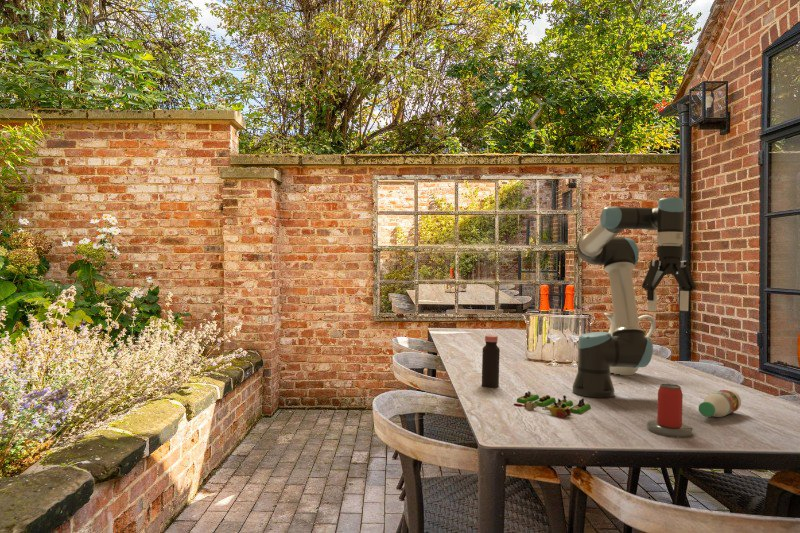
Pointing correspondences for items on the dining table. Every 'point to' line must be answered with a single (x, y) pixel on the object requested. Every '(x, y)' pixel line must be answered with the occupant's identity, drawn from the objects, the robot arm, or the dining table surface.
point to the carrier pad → (669, 430)
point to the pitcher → (612, 327)
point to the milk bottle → (720, 403)
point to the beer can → (669, 406)
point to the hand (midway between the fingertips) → (668, 310)
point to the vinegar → (490, 362)
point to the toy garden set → (556, 409)
